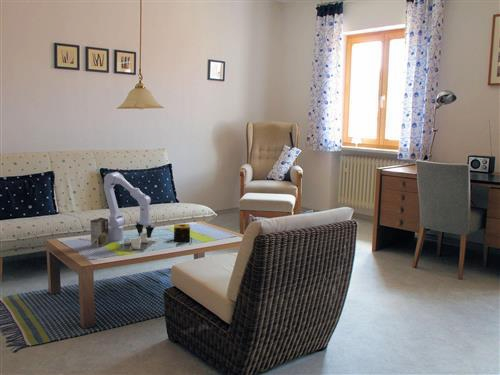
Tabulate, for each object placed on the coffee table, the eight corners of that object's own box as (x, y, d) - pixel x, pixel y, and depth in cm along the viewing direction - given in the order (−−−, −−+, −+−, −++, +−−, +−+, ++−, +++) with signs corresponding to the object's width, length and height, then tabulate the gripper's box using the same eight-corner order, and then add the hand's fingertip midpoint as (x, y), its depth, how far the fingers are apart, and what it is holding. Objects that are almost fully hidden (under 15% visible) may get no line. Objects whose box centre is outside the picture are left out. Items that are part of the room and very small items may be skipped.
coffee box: (101, 242, 317) (100, 217, 315) (109, 244, 314) (108, 218, 312) (90, 245, 309) (90, 220, 307) (98, 247, 306) (98, 221, 304)
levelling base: (116, 251, 299) (116, 244, 298) (132, 241, 322) (132, 234, 321) (142, 254, 296) (142, 246, 295) (156, 243, 319) (156, 236, 319)
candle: (174, 242, 322) (174, 227, 320) (173, 238, 332) (173, 223, 330) (190, 242, 324) (190, 227, 322) (189, 238, 334) (189, 223, 332)
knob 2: (142, 243, 312) (142, 234, 310) (138, 241, 315) (138, 232, 314) (150, 242, 315) (150, 232, 314) (146, 240, 319) (146, 231, 318)
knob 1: (129, 248, 300) (129, 239, 299) (133, 246, 304) (133, 236, 303) (138, 249, 299) (138, 239, 298) (142, 247, 304) (142, 237, 303)
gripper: (157, 216, 311) (157, 237, 314) (141, 212, 320) (141, 233, 322) (149, 217, 306) (149, 239, 308) (132, 214, 314) (133, 235, 316)
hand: (144, 236), depth 315 cm, fingers open, 7 cm apart
